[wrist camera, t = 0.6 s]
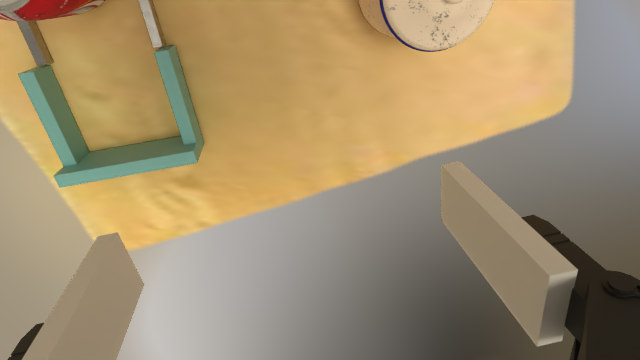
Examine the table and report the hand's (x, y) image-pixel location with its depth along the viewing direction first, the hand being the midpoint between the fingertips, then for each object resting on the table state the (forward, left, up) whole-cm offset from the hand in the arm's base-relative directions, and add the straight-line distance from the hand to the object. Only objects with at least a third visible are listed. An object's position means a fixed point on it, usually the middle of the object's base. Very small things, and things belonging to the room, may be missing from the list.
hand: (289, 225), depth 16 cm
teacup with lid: (-8, +15, -26) cm, 31 cm away
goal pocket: (-1, -14, -25) cm, 29 cm away
